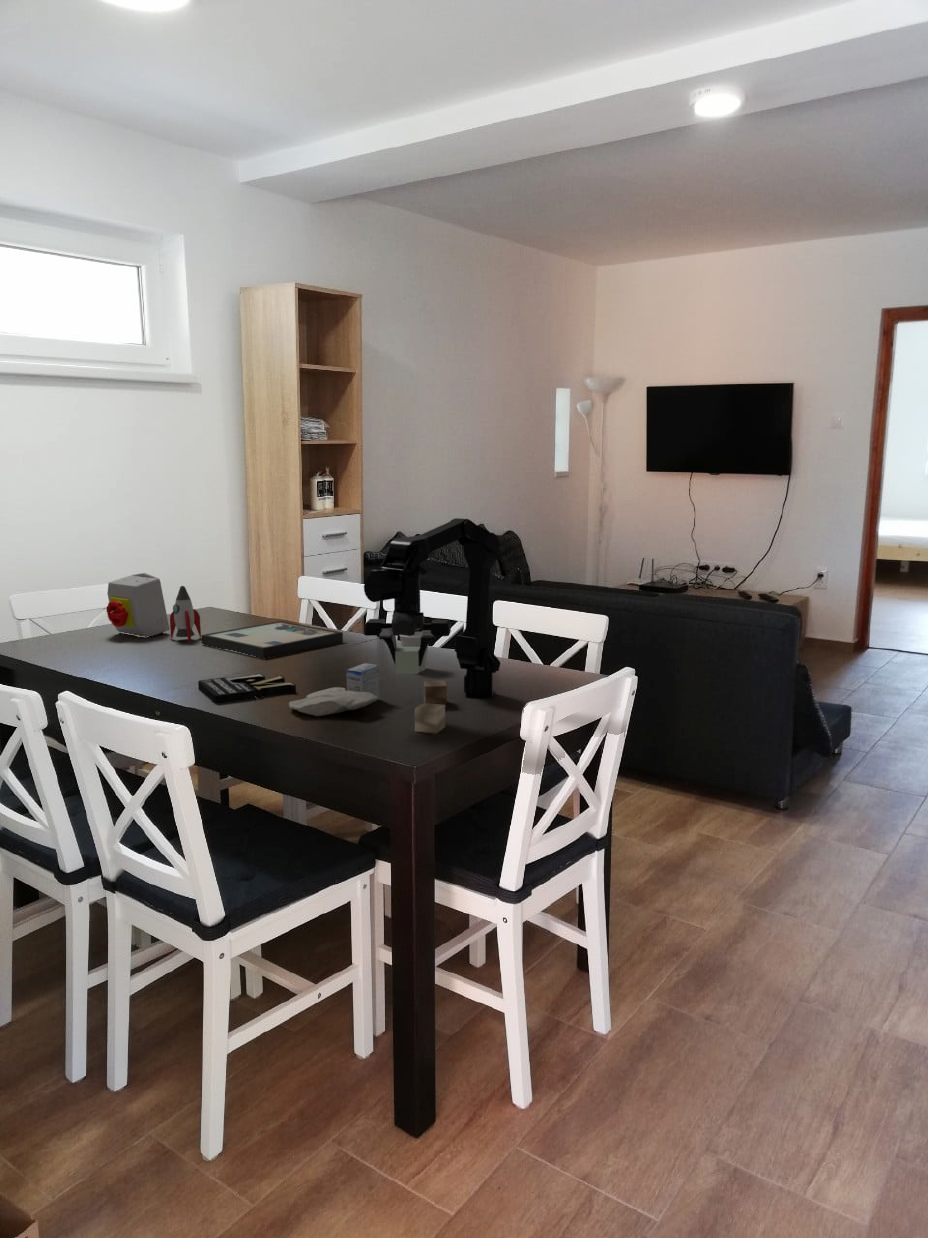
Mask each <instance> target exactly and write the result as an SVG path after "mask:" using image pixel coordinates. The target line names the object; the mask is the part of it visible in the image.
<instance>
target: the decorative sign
mask: <svg viewBox="0 0 928 1238" xmlns="http://www.w3.org/2000/svg"><path fill="white" fill-rule="evenodd" d="M197 683H198V684H197V685H198V691H200V693H202V694H203V695H205V697H207V698H208V699H209V700H210V701H212V703H214V704H215V705H221V704H228V703H234V702H241V701H251V700H254V699H255V700H256V698H257V699H262V698H263V696H264V697H270V696H269V695H271V696H277V694H278V695H285V694H284V693H286V694H292V693H295V694H297V685H296V684H295V683H294V682H293V681H290V682H288V681H287V682H286V680H285V677H284V675H283V676H282V675H281V674H278V675H276V676H274V677H269V678H266V676H265V675H263V673H261V672H259V673H256V674H250V675H241V676H234V677H226V676H224V677H217V678H210V679H209V678H208V679H202V680H198V681H197ZM255 696H256V697H255ZM250 699H251V700H250Z"/></svg>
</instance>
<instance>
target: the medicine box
mask: <svg viewBox="0 0 928 1238" xmlns="http://www.w3.org/2000/svg"><path fill="white" fill-rule="evenodd" d="M380 688H381V687H380V665H379V664H374V663H366V662H364V663H362V664H359V665H356V666H353V667H350V668H349V669H347V670H346V691H354V692H369V693H371V694H373V695H375V696H377V697H378V699H377V700H376V701H375V702H377V701H378V700H380V697H381V695H380V691H381V690H380ZM366 706H367V705H365V706H363V707H362V708H364V707H366Z"/></svg>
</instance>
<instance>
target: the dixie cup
mask: <svg viewBox="0 0 928 1238" xmlns="http://www.w3.org/2000/svg"><path fill="white" fill-rule="evenodd" d="M422 635H423V633H422V632H415V634H414V635H412V636H407V635H399V638H400V645H401V646H400V647H420V645H421V636H422ZM428 650H429V645H428V646H427V648H426V651H425V655H424V658H423V661H422V664H421V669H420V671H419V673H421V672H424V671H426V667H427V659H428Z"/></svg>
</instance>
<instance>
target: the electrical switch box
mask: <svg viewBox="0 0 928 1238" xmlns="http://www.w3.org/2000/svg"><path fill="white" fill-rule="evenodd" d="M107 584H108V585H107V593H106V594H107V597H108V598H107V599H108V604H107V606H106V614H107V618H108V621H109V622H111V624H112V625H113V626H114V627H115V629H116V631H117V632H118V631H119V632H124V633H129V634H134V635H139V636H145V637H147V636H152V637H154V636H153V635H155V636H157V635H161V634H162V633H165V632H167V631H169V630H170V623H169V619H168V613H167V609H166V603H165V599H164V593H163V589H162V583H161V580H160V578H159V577H156V576H154V575H151V574H149V573H146V572H142V573H137V574H131V575H128V576H125V577H121V578H119V579H115V580H113V581H110V582H108V583H107ZM119 632H118V633H119Z"/></svg>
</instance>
